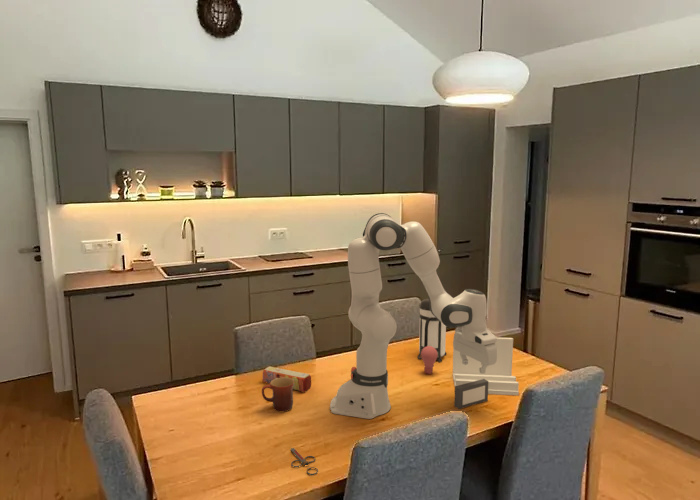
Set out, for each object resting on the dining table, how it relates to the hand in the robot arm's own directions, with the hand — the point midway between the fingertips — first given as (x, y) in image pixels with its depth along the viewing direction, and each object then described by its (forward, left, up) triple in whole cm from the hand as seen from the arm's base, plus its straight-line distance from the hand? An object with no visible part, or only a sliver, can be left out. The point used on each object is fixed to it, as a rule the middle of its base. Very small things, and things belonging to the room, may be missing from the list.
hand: (473, 368), depth 190 cm
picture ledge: (+7, +17, -14) cm, 23 cm away
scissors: (-56, -44, -15) cm, 73 cm away
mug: (-71, -12, -14) cm, 74 cm away
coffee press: (-13, +45, -14) cm, 49 cm away
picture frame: (0, 0, -14) cm, 14 cm away
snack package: (-74, +8, -14) cm, 75 cm away
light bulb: (-15, +27, -14) cm, 34 cm away
